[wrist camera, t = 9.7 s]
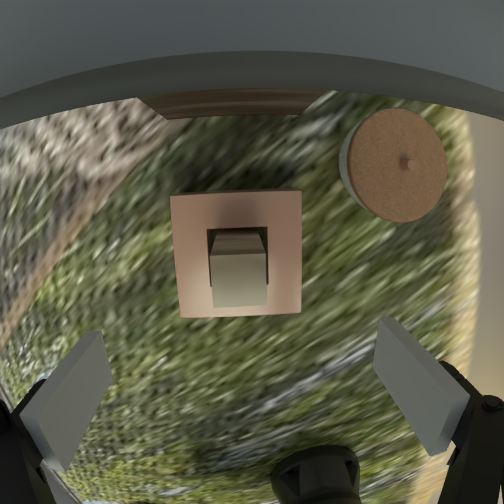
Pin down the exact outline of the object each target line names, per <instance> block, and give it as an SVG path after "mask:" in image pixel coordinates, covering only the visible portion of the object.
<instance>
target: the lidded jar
mask: <svg viewBox="0 0 504 504" xmlns="http://www.w3.org/2000/svg"><path fill="white" fill-rule="evenodd" d="M339 172H340V176H341V179H342V182H343V184H344V187H345V188H346V190H347V192H348V193H349V195H350V196H351V197H352V198H353V199H354V200H355V202H357V203H358V204H359V205H360V206H361V207H363V208H364V209H366V210H367V211H369V212H371V213H373V214H375V215H377V216H378V217H380V218H383V219H385V220H388V221H392V222H399V223H405V222H411V221H414V220H417V219H419V218H421V217H423V216H424V215H426V214H427V213H428V212H429V211H431V210H432V208H433V207H434V206H435V205H436V204H437V202H438V200H439V199H440V197H441V195H442V192H443V190H444V187H445V183H446V177H447V160H446V155H445V151H444V147H443V145H442V142H441V140H440V138H439V136H438V135H437V133H436V131H435V130H434V129H433V127H432V126H431V125H430V124H429V123H428V122H427V121H426V120H425V119H423V118H422V117H421V116H419V115H418V114H416V113H414V112H412V111H409V110H406V109H401V108H388V109H383V110H380V111H378V112H375V113H373V114H371V115H370V116H368V117H366V118H364V119H363V120H361V121H360V122H358V123H357V124H356V125H355V126H354V127H353V128H352V129H351V130H350V131H349V133H348V134H347V136H346V137H345V139H344V141H343V143H342V146H341V149H340V153H339Z"/></svg>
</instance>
